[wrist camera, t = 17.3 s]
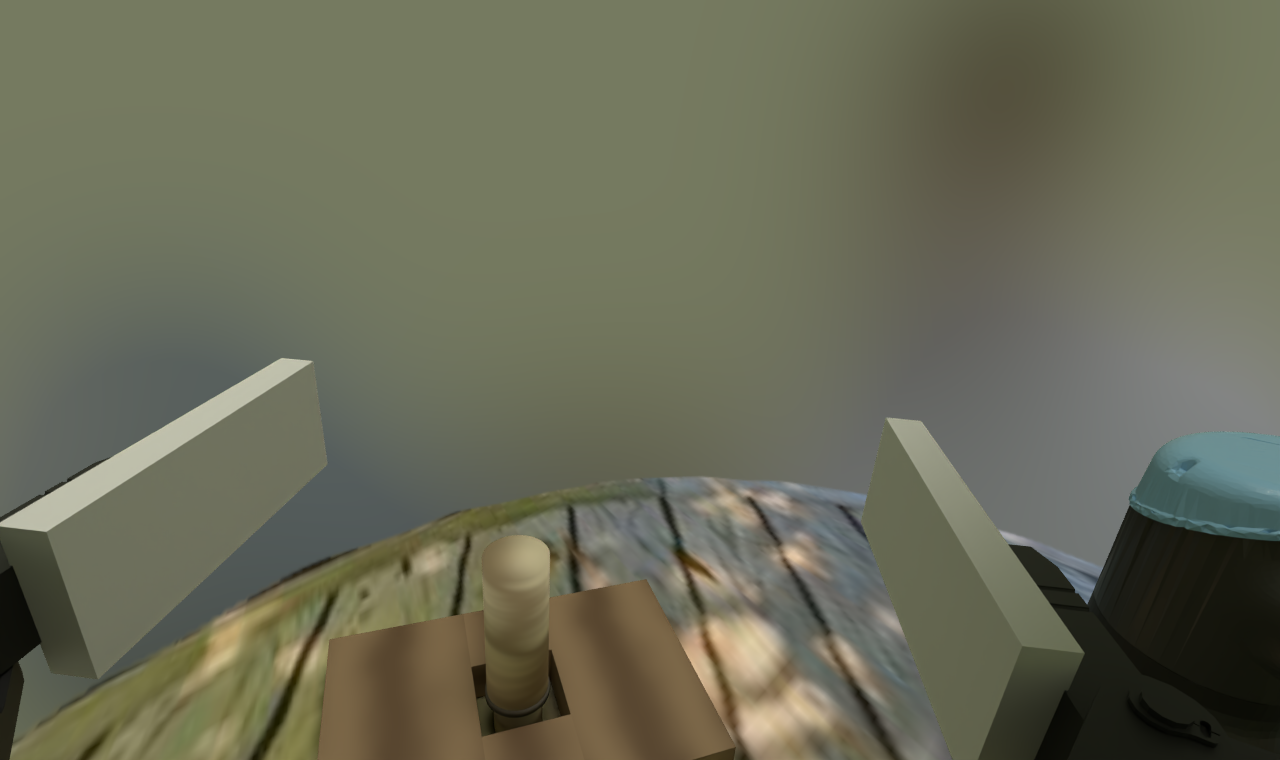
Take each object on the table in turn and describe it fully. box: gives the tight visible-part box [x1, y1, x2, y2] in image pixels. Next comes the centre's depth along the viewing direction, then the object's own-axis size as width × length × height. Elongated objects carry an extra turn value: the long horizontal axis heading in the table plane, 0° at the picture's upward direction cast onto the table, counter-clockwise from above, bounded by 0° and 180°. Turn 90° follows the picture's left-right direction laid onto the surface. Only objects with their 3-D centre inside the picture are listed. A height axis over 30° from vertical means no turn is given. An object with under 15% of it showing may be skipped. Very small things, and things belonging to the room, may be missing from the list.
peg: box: [482, 535, 550, 733], centre depth 41 cm, size 4×4×14 cm
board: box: [318, 580, 736, 760], centre depth 44 cm, size 24×16×3 cm, turn 110°
